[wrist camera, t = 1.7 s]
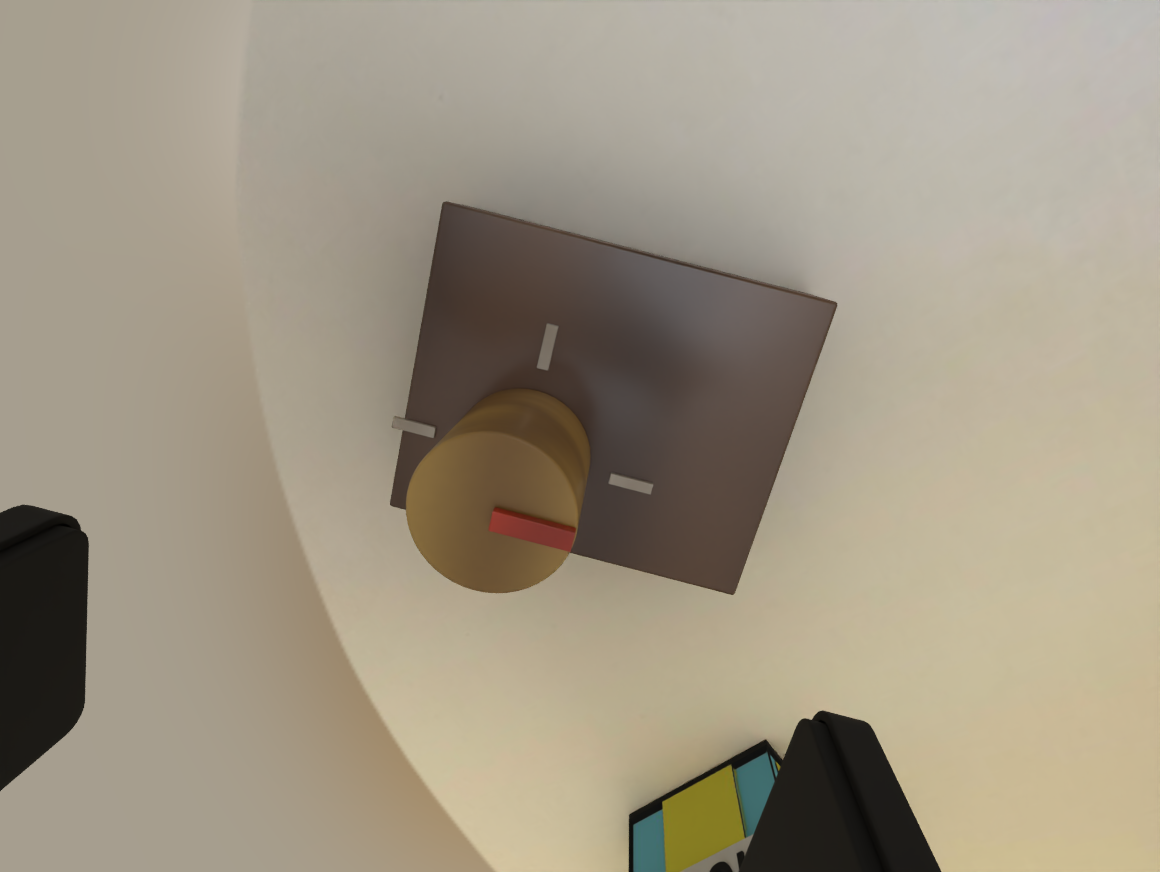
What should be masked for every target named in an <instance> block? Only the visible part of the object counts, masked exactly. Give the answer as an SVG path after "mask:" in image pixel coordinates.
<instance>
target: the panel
mask: <svg viewBox="0 0 1160 872" xmlns="http://www.w3.org/2000/svg"><path fill="white" fill-rule="evenodd" d="M836 308H837V303H836V302H834V301H830V300H827V299H824V298H821V297H817V296H814V295H811V294H807V293H803V292H799V291H795V290H791V289H787V288H783V287H780V286H776V285H772V284H768V283H764V282H760V281H756V280H752V279H749V278H745V277H741V276H737V275H733V274H729V273H725V272H721V271H718V270H714V269H710V268H706V267H702V266H698V265H694V264H691V263H687V262H683V261H679V260H675V259H671V258H667V257H663V256H660V255H656V254H652V253H648V252H644V251H640V250H636V249H632V248H629V247H625V246H621V245H617V244H613V243H609V242H605V241H601V240H598V239H594V238H590V237H586V236H582V235H578V234H574V233H570V232H567V231H563V230H559V229H555V228H551V227H547V226H543V225H539V224H536V223H532V222H528V221H524V220H520V219H516V218H512V217H508V216H505V215H501V214H497V213H493V212H489V211H485V210H481V209H477V208H474V207H470V206H465V205H460V204H456V203H451V202H443V204H442V209H441V214H440V220H439V226H438V232H437V237H436V243H435V249H434V254H433V260H432V266H431V272H430V277H429V283H428V289H427V294H426V300H425V306H424V312H423V317H422V323H421V329H420V335H419V340H418V346H417V352H416V357H415V363H414V369H413V375H412V380H411V386H410V392H409V397H408V403H407V409H406V415H405V418H401V417H397V416H394V417H393V423H392V427H393V428H396V429H400V430H403V432H402V437H401V443H400V449H399V455H398V460H397V466H396V472H395V477H394V483H393V489H392V495H391V500H390V505H391V506H393V507H397V508H401V509H405V510H406V498H407V491H408V487H409V483H410V480H411V478H412V476H413V473H414V471H415V470H416V468H417V466H418V465H419V463H420V462H421V461H422V460H423V458H424V457H425V456H426V455H427V454H428V453H429V452H430V451H431V450H432V449H433V448H434V447H435V446H436V445H437V444H438V442H439V441H440V440H441V439H442V438H443V437H444V436H445V435H446V434H447V433H448V432H449V431H450V430H451V429H452V428H453V427H454V426H455V425H456V424H457V423H458V422H459V421H460V420H461V419H462V418H463V417H464V416H465V415H466V414H467V413H468V412H469V411H470V410H471V408H473V407H474V406H475V405H476V404H477V403H478V402H480V401H481V400H482V399H484V398H486V397H487V396H489V395H491V394H494V393H497V392H500V391H503V390H508V389H530V390H536V391H539V392H542V393H545V394H548V395H550V396H552V397H554V398H556V399H557V400H559V401H560V402H562V403H563V404H564V405H566V406H567V407H568V408H569V409H570V410H571V411H572V412H573V413H574V414H575V415H576V417H577V418H578V420H579V421H580V422H581V424H582V426H583V428H584V430H585V432H586V435H587V438H588V441H589V446H590V455H591V458H590V468H589V473H588V478H587V483H586V488H585V494H584V499H583V504H582V509H581V514H580V519H579V524H578V529H577V534H576V538H575V541H574V544H573V547H572V549H571V551H570V553H574V554H577V555H581V556H585V557H589V558H593V559H597V560H600V561H604V562H608V563H612V564H616V565H620V566H623V567H627V568H631V569H635V570H639V571H643V572H647V573H650V574H654V575H658V576H662V577H666V578H670V579H673V580H677V581H681V582H685V583H689V584H693V585H696V586H700V587H704V588H708V589H712V590H716V591H719V592H723V593H727V594H731V595H734V593H735V591H736V588H737V586H738V583H739V580H740V577H741V574H742V572H743V569H744V566H745V563H746V560H747V558H748V555H749V552H750V549H751V546H752V544H753V541H754V538H755V535H756V532H757V530H758V527H759V524H760V521H761V518H762V515H763V513H764V510H765V507H766V504H767V501H768V499H769V496H770V493H771V490H772V487H773V485H774V482H775V479H776V476H777V473H778V471H779V468H780V465H781V462H782V459H783V457H784V454H785V451H786V448H787V445H788V443H789V440H790V437H791V434H792V431H793V429H794V426H795V423H796V420H797V417H798V415H799V412H800V409H801V406H802V403H803V400H804V398H805V395H806V392H807V389H808V386H809V384H810V381H811V378H812V375H813V372H814V370H815V367H816V364H817V361H818V358H819V356H820V353H821V350H822V347H823V344H824V342H825V339H826V336H827V333H828V330H829V328H830V325H831V322H832V319H833V316H834V314H835V311H836Z"/></svg>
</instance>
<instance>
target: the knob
mask: <svg viewBox="0 0 1160 872" xmlns="http://www.w3.org/2000/svg"><path fill="white" fill-rule="evenodd" d="M590 458H591V455H590V446H589V441H588V438H587V435H586V432H585V430H584V428H583V426H582V424H581V422H580V421H579V420H578V418H577V417H576V415H575V414H574V413H573V412H572V411H571V410H570V409H569V408H568V407H567V406H566V405H564V404H563V403H562V402H560V401H559V400H557V399H556V398H554V397H552V396H550V395H548V394H545V393H542V392H539V391H536V390H530V389H508V390H503V391H500V392H497V393H494V394H491V395H489V396H487V397H486V398H484V399H482V400H481V401H480V402H478V403H477V404H476V405H475V406H474V407H473V408H471V410H470V411H469V412H468V413H467V414H466V415H465V416H464V417H463V418H462V419H461V420H460V421H459V422H458V423H457V424H456V425H455V426H454V427H453V428H452V429H451V430H450V431H449V432H448V433H447V434H446V435H445V436H444V437H443V438H442V439H441V440H440V441H439V442H438V444H437V445H436V446H435V447H434V448H433V449H432V450H431V451H430V452H429V453H428V454H427V455H426V456H425V457H424V458H423V460H422V461H421V462H420V463H419V465H418V466H417V468H416V470H415V471H414V473H413V476H412V478H411V480H410V483H409V487H408V491H407V498H406V515H407V521H408V526H409V529H410V532H411V535H412V538H413V540H414V542H415V544H416V546H417V548H418V549H419V551H420V552H421V554H422V555H423V557H424V558H425V559H426V560H427V561H428V563H429V564H430V565H431V566H432V567H433V568H434V569H435V570H437V571H438V572H439V573H441V574H442V575H443V576H444V577H446V578H448V579H449V580H451V581H453V582H455V583H457V584H459V585H461V586H463V587H466V588H469V589H472V590H476V591H481V592H488V593H508V592H514V591H519V590H522V589H526V588H529V587H531V586H533V585H535V584H538V583H539V582H541V581H543V580H544V579H546V578H547V577H549V576H550V575H551V574H552V573H554V572H555V571H556V570H557V569H558V568H559V567H560V566H561V565H562V563H563V562H564V560H565V559H566V558H567V556H568V554H569V553H570V551H571V549H572V547H573V544H574V541H575V538H576V534H577V529H578V524H579V519H580V514H581V509H582V504H583V499H584V494H585V488H586V483H587V478H588V473H589V468H590Z"/></svg>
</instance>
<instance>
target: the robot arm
mask: <svg viewBox="0 0 1160 872" xmlns="http://www.w3.org/2000/svg"><path fill="white" fill-rule="evenodd" d="M88 548H89V543H88V537H87V535H86V534H85V533H84V532H82V531H81V528H80V525H79V523H78V521H77V519H75V518H73V517H72V516H69V515H65V514H62V513H58V512H54V511H50V510H46V509H42V508H39V507H35V506H29V505H20V506H16V507H13V508H11V509H8V510H6V511H3V512H1V513H0V791H1V790H2V789H3V788H4V787H5V786H7V785H8V784H9V783H10V782H11V781H12V780H13V779H15V778H16V777H17V776H18V775H19V774H21V773H22V772H23V771H24V770H25V769H27V768H28V767H29V766H30V765H31V764H32V763H34V762H35V761H36V760H37V759H38V758H40V757H41V756H42V755H43V754H44V753H45V752H46V751H48V750H49V749H50V748H51V747H52V746H53V745H55V744H56V743H57V742H58V741H59V740H61V739H62V738H63V737H64V736H65V735H66V734H67V733H68V732H69V731H70V730H71V729H72V728H73V727H74V725H75V724H76V723H77V721H78V719H79V717H80V716H81V714H82V711H83V708H84V703H85V675H86V634H87V593H88V592H87V591H88ZM739 872H941V870H940V868H939V866H938V864H937V862H936V860H935V857H934V855H933V853H932V851H931V849H930V847H929V845H928V843H927V841H926V839H925V837H924V835H923V833H922V830H921V828H920V826H919V824H918V822H917V820H916V818H915V816H914V814H913V812H912V810H911V808H910V806H909V803H908V801H907V799H906V797H905V795H904V793H903V791H902V789H901V787H900V785H899V783H898V781H897V779H896V776H895V774H894V772H893V770H892V768H891V766H890V764H889V762H888V760H887V758H886V756H885V754H884V752H883V749H882V747H881V745H880V743H879V741H878V739H877V737H876V735H875V733H874V731H873V729H872V728H871V726H870V725H869V724H868V723H866V722H865V721H861V720H857V719H853V718H849V717H846V716H842V715H838V714H834V713H830V712H826V711H819V712H818V713H817V714H816V715H815V716H814V717H813V719H812V720H809V719H802V720H801V721H800V722H799V723H798V725H797V727H796V729H795V732H794V734H793V737H792V739H791V742H790V744H789V747H788V749H787V752H786V754H785V757H784V759H783V762H782V764H781V767H780V769H779V772H778V774H777V777H776V779H775V782H774V784H773V787H772V789H771V792H770V794H769V797H768V799H767V802H766V804H765V807H764V809H763V812H762V814H761V817H760V819H759V822H758V824H757V827H756V829H755V832H754V834H753V837H752V839H751V842H750V844H749V847H748V849H747V852H746V854H745V857H744V859H743V862H742V864H741V867H740V869H739Z"/></svg>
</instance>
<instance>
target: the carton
mask: <svg viewBox="0 0 1160 872" xmlns="http://www.w3.org/2000/svg"><path fill="white" fill-rule="evenodd" d="M782 762H783V760H782V759H781V758H780V757H779V755H778V754H777V753H776V752H775V750H774V749H773V748H772V747H771V745H770V744H769V743H768V742H767V741H766V740H765V741H763V742H761V743H759V744H758V745H756V746H754V747H752V748H750V749H748V750H747V751H745V752H743V753H741V754H739V755H737V756H736V757H734V758H732V759H730V760H728V761H727V762H725V763H723V764H721V765H719V766H717V767H716V768H714V769H712V770H710V771H708V772H707V773H705V774H703V775H701V776H699V777H697V778H696V779H694V780H692V781H690V782H688V783H686V784H685V785H683V786H681V787H679V788H677V789H676V790H674V791H672V792H670V793H668V794H666V795H665V796H663V797H661V798H659V799H657V800H656V801H654V802H652V803H650V804H648V805H646V806H645V807H643V808H641V809H639V810H637V811H635V812H634V813H632V814H630V815H629V872H739V869H740V867H741V864H742V862H743V859H744V857H745V854H746V852H747V849H748V847H749V844H750V842H751V839H752V837H753V834H754V832H755V829H756V827H757V824H758V822H759V819H760V817H761V814H762V812H763V809H764V807H765V804H766V802H767V799H768V797H769V794H770V792H771V789H772V787H773V784H774V782H775V779H776V777H777V774H778V772H779V769H780V767H781V764H782Z"/></svg>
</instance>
